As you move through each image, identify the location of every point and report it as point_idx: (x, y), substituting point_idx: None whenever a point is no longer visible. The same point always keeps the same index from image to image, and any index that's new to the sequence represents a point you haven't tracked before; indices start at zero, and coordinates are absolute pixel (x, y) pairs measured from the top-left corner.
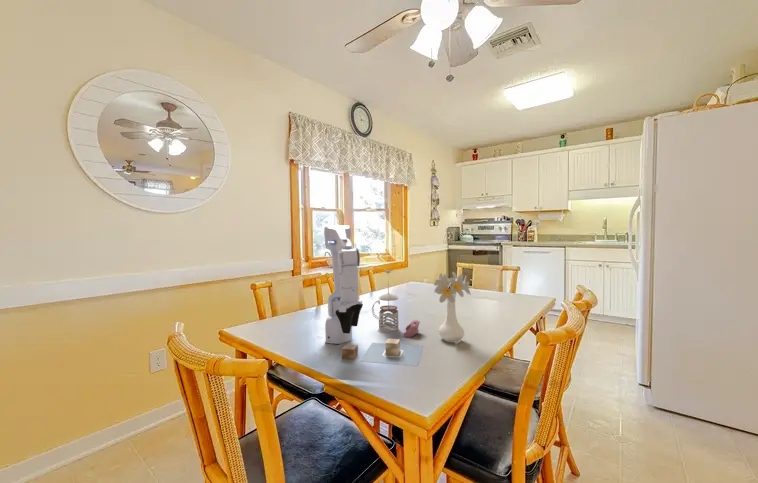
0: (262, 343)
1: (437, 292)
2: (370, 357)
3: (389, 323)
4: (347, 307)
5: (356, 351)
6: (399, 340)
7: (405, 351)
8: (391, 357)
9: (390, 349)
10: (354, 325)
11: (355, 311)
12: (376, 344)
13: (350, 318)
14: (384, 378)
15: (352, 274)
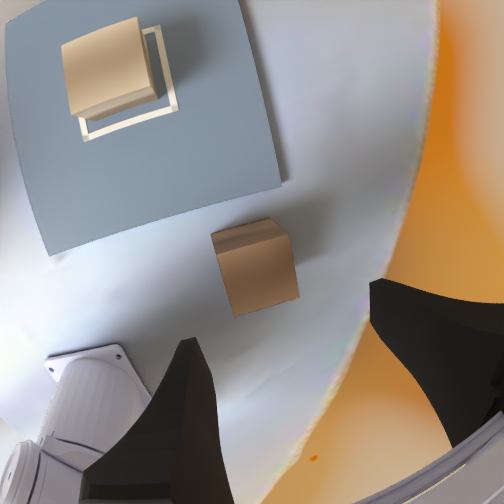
0: (257, 491)
1: None
2: (220, 156)
3: None
4: (492, 435)
5: (237, 238)
6: (69, 43)
7: None
8: (176, 59)
9: (149, 66)
10: (201, 355)
11: (201, 453)
12: (55, 222)
13: (494, 305)
14: (351, 39)
15: None
